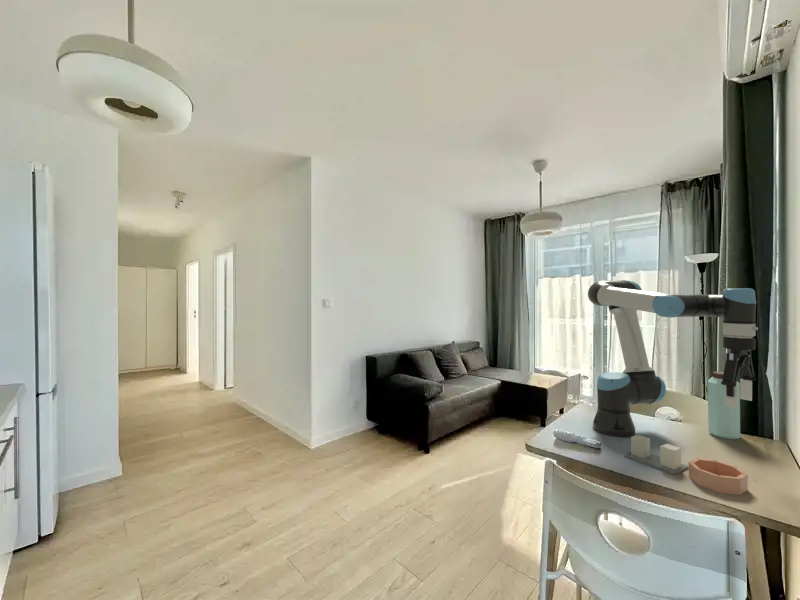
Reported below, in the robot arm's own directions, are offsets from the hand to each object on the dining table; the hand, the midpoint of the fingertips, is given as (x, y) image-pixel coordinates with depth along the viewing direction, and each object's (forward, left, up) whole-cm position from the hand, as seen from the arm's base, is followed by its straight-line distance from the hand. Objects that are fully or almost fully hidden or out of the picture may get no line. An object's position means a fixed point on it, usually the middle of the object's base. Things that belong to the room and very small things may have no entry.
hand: (738, 403), depth 112 cm
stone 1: (-21, -17, -21) cm, 34 cm away
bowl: (0, -16, -21) cm, 27 cm away
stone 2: (-12, -17, -21) cm, 29 cm away
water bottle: (-15, +32, -22) cm, 41 cm away
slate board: (-16, -17, -21) cm, 32 cm away
